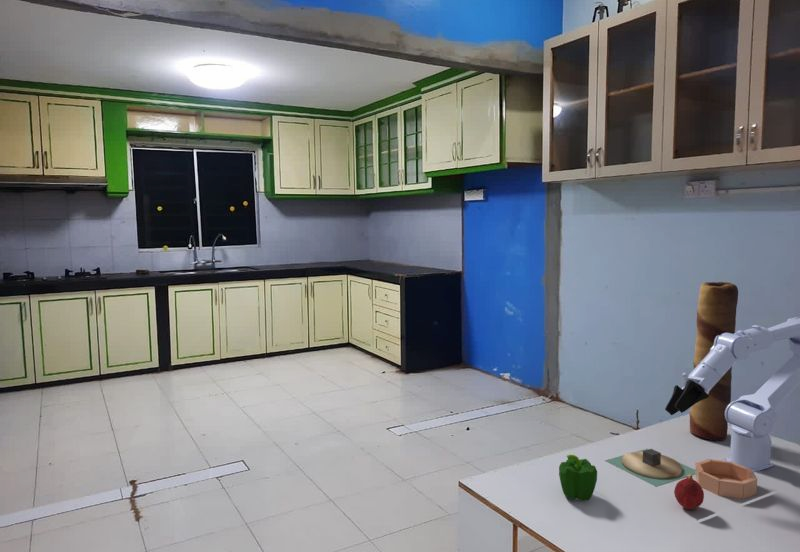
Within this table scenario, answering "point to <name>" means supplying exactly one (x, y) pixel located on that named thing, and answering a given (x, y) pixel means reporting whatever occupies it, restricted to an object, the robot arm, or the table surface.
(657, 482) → the mat
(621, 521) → the table surface
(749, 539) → the table surface
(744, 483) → the bowl
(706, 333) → the wafer roll
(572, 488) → the bell pepper
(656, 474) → the lid
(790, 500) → the table surface
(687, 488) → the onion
